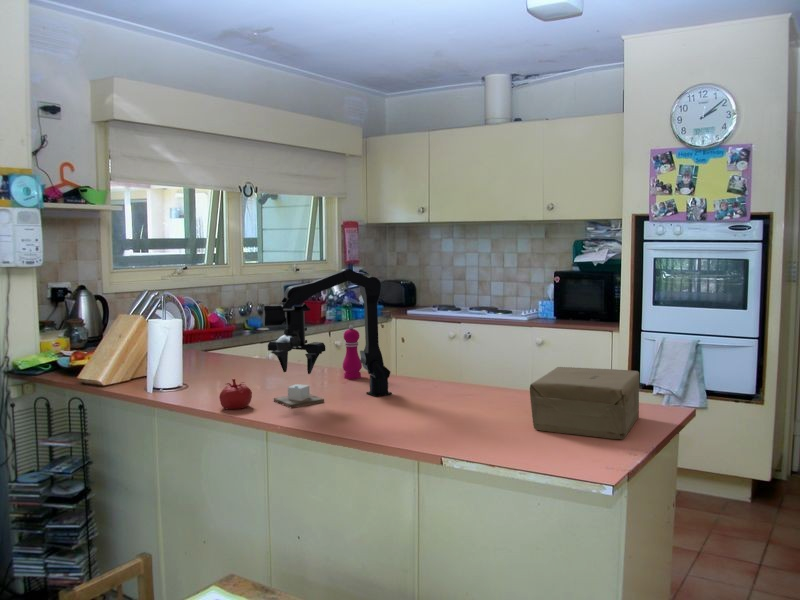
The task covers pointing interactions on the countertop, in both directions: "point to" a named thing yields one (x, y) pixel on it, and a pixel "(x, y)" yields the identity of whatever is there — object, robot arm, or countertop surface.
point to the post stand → (296, 403)
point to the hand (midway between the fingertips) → (297, 373)
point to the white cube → (298, 392)
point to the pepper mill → (351, 354)
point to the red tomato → (235, 396)
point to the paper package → (586, 401)
